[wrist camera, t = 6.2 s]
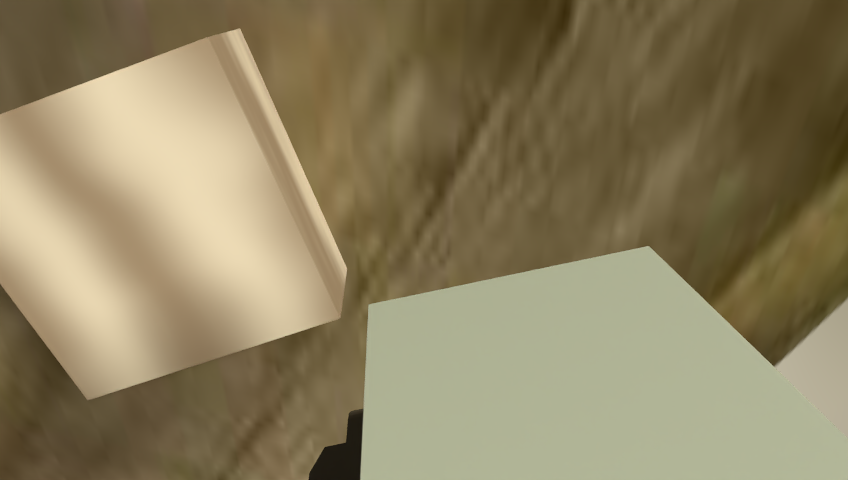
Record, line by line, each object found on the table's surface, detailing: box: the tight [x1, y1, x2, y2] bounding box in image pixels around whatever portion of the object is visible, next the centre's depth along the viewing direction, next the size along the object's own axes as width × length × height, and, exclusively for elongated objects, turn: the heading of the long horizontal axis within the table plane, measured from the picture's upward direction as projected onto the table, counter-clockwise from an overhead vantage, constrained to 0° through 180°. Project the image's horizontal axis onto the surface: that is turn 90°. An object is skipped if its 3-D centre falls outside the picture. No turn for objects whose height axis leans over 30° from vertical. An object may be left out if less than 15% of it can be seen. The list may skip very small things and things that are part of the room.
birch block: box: [0, 29, 347, 400], centre depth 24 cm, size 12×12×5 cm
